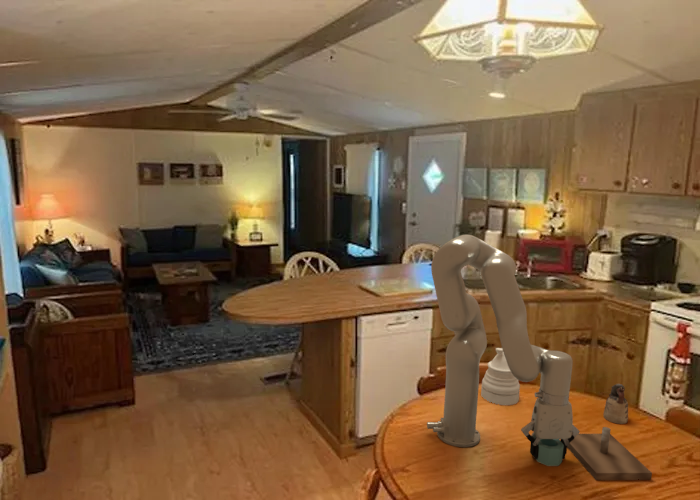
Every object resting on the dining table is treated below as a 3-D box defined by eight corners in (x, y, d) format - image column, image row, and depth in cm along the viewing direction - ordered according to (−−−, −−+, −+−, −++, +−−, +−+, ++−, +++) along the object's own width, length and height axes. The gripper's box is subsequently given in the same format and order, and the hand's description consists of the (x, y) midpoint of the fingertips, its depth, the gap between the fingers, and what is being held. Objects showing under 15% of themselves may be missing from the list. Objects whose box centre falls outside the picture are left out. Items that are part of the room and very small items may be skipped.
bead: (540, 466, 141) (542, 449, 140) (530, 451, 148) (531, 435, 147) (565, 465, 141) (567, 449, 141) (554, 451, 148) (555, 435, 147)
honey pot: (499, 408, 174) (503, 357, 171) (473, 393, 186) (476, 345, 183) (526, 400, 181) (531, 351, 178) (499, 386, 192) (503, 340, 189)
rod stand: (595, 480, 135) (599, 448, 134) (560, 439, 155) (563, 411, 154) (651, 479, 136) (655, 448, 135) (609, 439, 156) (612, 411, 154)
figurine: (624, 415, 172) (628, 381, 170) (630, 425, 165) (634, 390, 163) (601, 412, 174) (605, 378, 172) (606, 422, 167) (610, 387, 165)
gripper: (528, 402, 137) (522, 464, 140) (591, 402, 138) (584, 464, 141) (517, 390, 145) (512, 449, 148) (578, 390, 146) (571, 449, 149)
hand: (547, 456), depth 145 cm, fingers closed on bead, 7 cm apart
